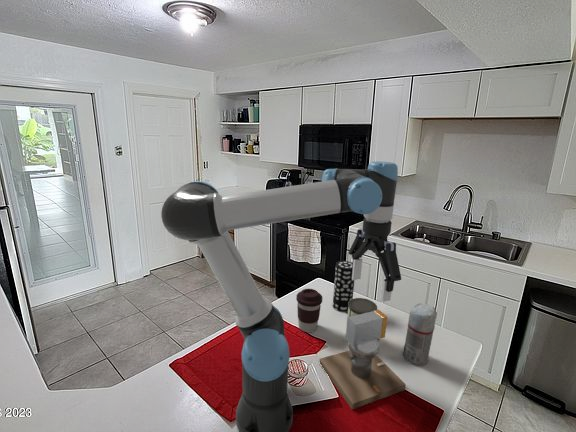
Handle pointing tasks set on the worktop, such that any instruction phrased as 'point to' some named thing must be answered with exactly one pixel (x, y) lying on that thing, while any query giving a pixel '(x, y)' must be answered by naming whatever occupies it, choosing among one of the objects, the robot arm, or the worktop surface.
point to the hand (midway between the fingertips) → (369, 289)
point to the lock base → (361, 378)
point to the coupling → (366, 333)
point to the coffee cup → (308, 309)
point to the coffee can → (360, 307)
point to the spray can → (419, 334)
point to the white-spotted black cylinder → (343, 286)
